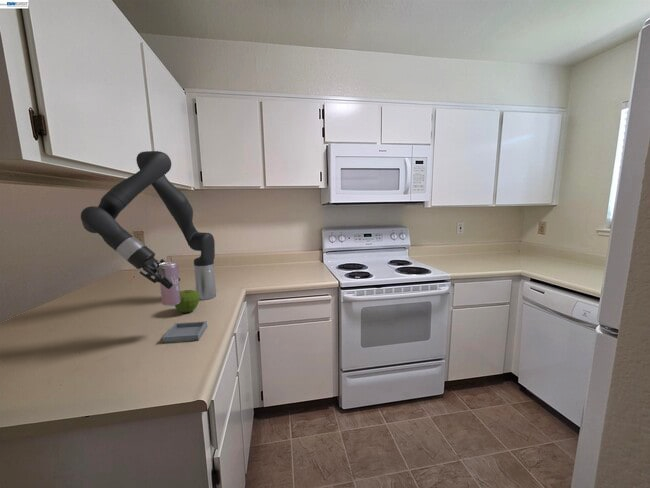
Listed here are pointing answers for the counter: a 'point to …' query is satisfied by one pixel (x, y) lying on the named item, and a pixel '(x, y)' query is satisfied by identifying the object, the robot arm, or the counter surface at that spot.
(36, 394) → the counter surface
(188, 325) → the tray
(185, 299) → the apple
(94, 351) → the counter surface
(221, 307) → the counter surface
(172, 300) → the beverage can
